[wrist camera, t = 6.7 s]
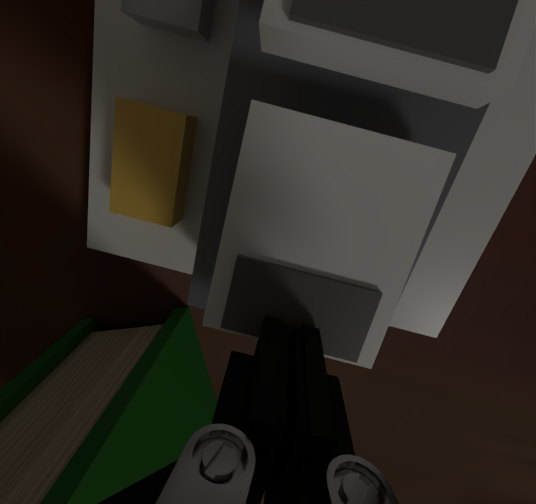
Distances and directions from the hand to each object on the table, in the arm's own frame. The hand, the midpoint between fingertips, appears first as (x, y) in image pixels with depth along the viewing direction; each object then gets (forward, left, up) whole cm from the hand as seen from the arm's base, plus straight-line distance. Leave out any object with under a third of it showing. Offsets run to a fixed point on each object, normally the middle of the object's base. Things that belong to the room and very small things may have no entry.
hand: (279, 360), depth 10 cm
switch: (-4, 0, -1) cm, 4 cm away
